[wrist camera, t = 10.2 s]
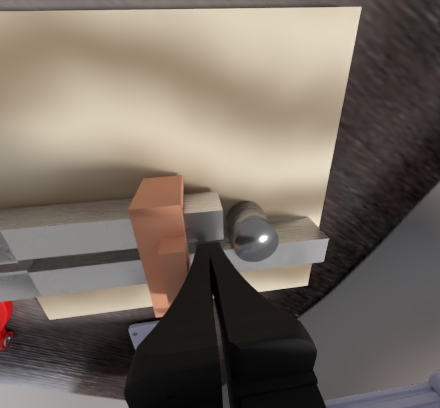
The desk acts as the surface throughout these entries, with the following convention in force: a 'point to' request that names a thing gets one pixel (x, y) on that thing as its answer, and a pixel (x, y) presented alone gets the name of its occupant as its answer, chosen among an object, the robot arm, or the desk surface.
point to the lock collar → (161, 237)
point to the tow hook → (3, 312)
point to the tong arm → (94, 227)
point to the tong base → (231, 244)
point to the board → (172, 114)
